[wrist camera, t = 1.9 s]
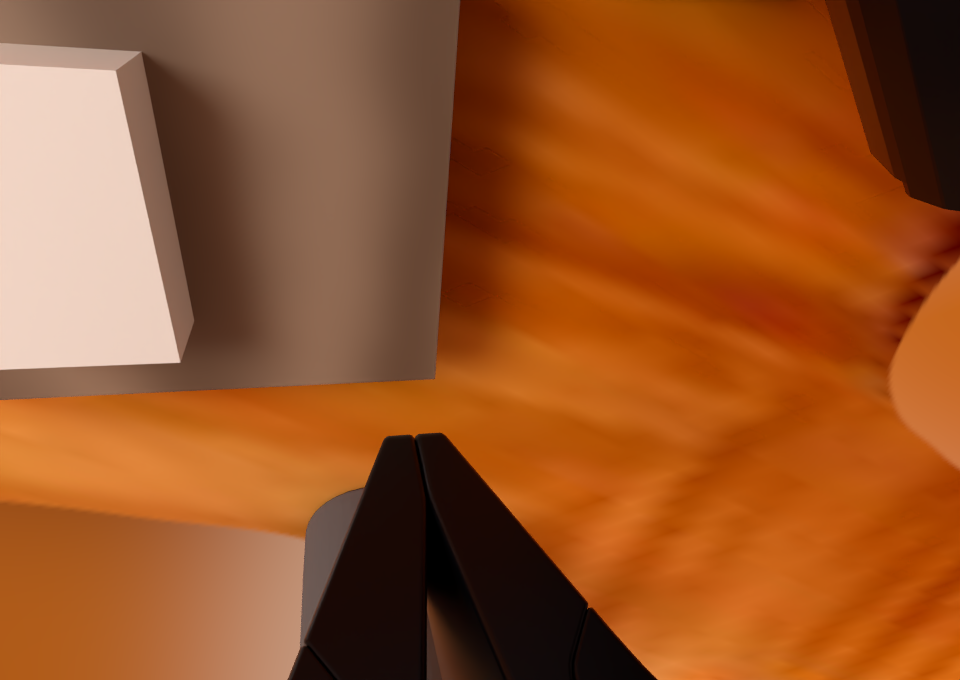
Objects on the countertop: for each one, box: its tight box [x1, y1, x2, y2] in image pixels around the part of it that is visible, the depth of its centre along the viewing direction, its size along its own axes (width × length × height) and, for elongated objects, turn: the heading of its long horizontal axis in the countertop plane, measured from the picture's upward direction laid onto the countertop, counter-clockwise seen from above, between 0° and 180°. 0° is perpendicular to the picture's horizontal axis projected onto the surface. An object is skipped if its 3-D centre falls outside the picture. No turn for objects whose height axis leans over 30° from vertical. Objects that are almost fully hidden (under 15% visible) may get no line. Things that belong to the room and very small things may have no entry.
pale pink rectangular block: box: [0, 43, 194, 370], centre depth 14 cm, size 5×7×2 cm
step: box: [0, 0, 460, 400], centre depth 17 cm, size 14×12×3 cm
